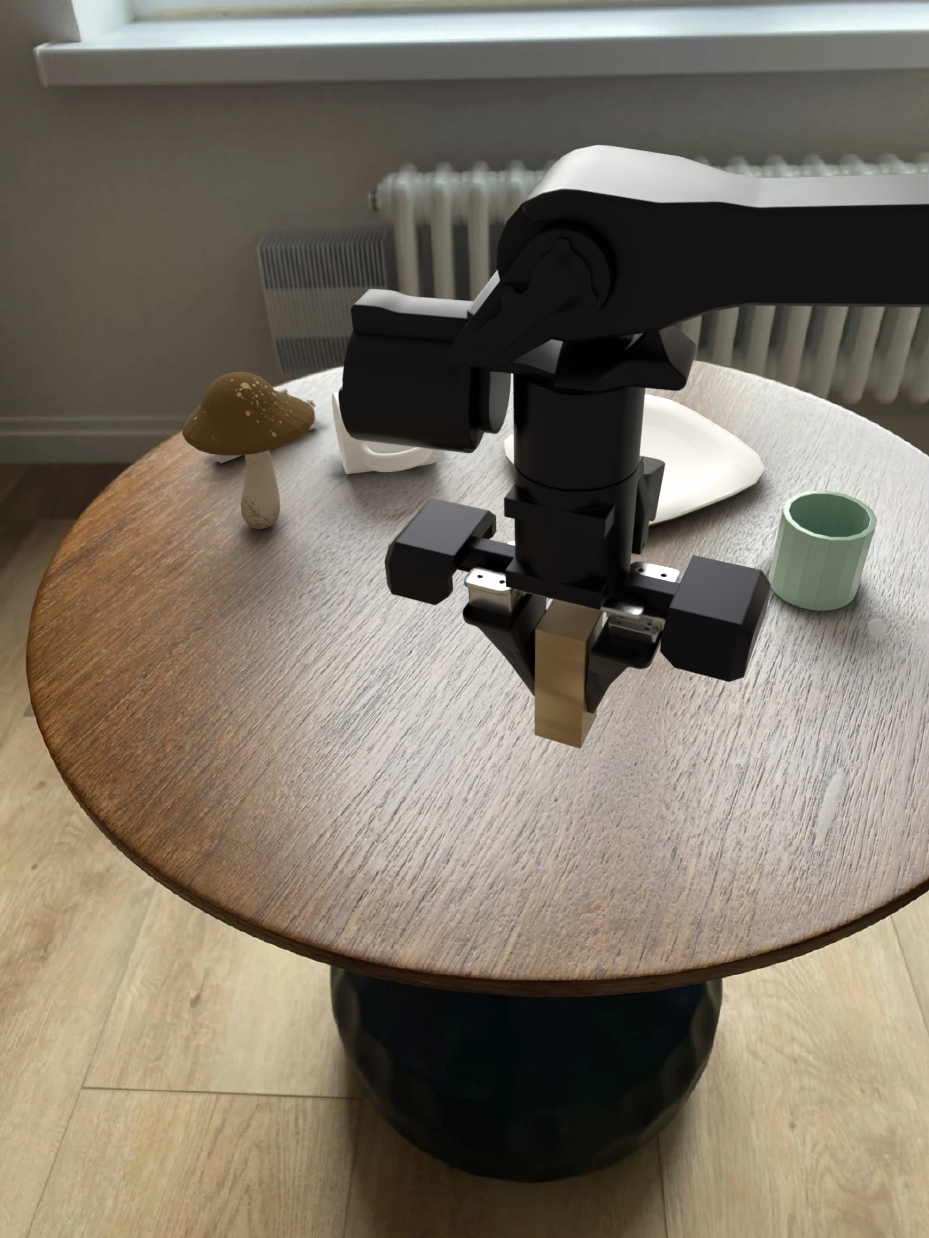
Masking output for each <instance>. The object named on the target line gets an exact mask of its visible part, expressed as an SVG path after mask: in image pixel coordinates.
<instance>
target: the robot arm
mask: <svg viewBox="0 0 929 1238" xmlns="http://www.w3.org/2000/svg"><path fill="white" fill-rule="evenodd" d="M496 254H497V255H496V256H497V257H496V271H495V272H494V273H493V275H491V277H490V279H489V280H488V282H487V283H486V284H485V285H484V287H483V288H482V289H481V291H480V292H479V293H478V294H477V296H476V298H475V299H474V300H472V301H471V300H462V299H448V298H437V297H423V296H413V295H407V294H404V293H403V292H402V293H401V292H399V291H396V290H390V289H380V288H379V289H378V288H369V289H368V290H367V291H365V293H364V294H362V296H361V297H359V299H358V300H357V301H356V302H355V303H354V304H353V305H352V306H351V307H350V317H351V325H352V332H351V334H350V336H349V337H350V338H349V340H348V343H347V346H346V351H345V355H344V360H343V369H342V377H341V378H342V379H341V384H342V385H341V387H340V388H339V389H338V392H339V393H338V399H339V408H340V413H341V417H342V421H343V424H344V426H345V429H346V431H347V432H348V433H349V435H350V436H351V437H352V438H354V439H356V440H363V441H371V442H379V443H387V444H395V445H404V446H412V447H420V448H428V449H436V450H443V451H447V452H454V453H462V454H472V453H474V452H475V451H476V450H477V449H478V448H479V446H480V444H481V442H482V439H483V437H484V435H485V434H491V435H497V434H499V432H500V431H501V430H502V427H503V425H504V423H505V420H506V417H507V412H508V409H509V403H510V396H511V387H512V402H513V403H512V405H513V407H512V408H513V411H512V412H513V413H512V414H513V415H512V416H513V417H512V419H513V421H512V422H513V433H514V466H513V486H512V487H511V488H510V489H509V490H508V492H507V493H506V495H505V496H504V498H503V516H504V518H508V519H513V520H514V540H510V541H508V542H507V543H506V542H503V541H497V540H493V539H492V538H494V536H495V535H496V533H497V531H498V530H497V515H496V514H495V513H493V512H492V511H491V510H488V509H486V508H485V509H484V508H481V507H476V506H471V505H467V504H461V503H457V502H453V501H448V500H443V499H439V498H434V497H432V498H431V499H430V500H428V501H427V502H426V503H425V504H424V505H422V506H421V508H420V509H419V510H418V511H417V512H416V513H415V514H414V516H413V517H412V518H411V519H410V520H409V522H407V524H406V525H405V526H404V528H403V529H402V530H401V531H400V532H399V533H398V534H397V535H396V537H394V539H393V540H392V541H391V543H389V545H388V546H387V551H386V554H385V557H384V569H385V579H386V586H387V588H388V590H389V592H390V594H391V595H394V596H397V597H402V598H404V599H409V600H412V601H417V602H421V603H424V604H428V605H433V606H437V605H439V604H440V603H442V602H443V601H445V600H447V599H448V598H449V597H450V596H451V595H452V593H453V592H454V580H453V579H454V578H453V576H454V574H456V572H457V571H461V572H465V573H467V574H466V575H465V577H464V579H463V585H464V587H466V588H467V590H468V591H467V592H468V593H467V594H468V602H467V603H466V604H465V606H464V607H463V609H462V612H461V613H462V620H463V621H464V622H465V623H466V624H467V625H470V626H473V627H475V628H478V629H479V630H480V631H481V632H482V633H483V635H484V636H485V637H486V638H487V639H488V640H489V641H490V643H491V644H492V645H493V646H494V647H495V648H496V649H497V650H498V651H499V653H500V654H501V655H503V658H505V660H506V661H507V662H508V664H510V666H511V667H512V669H513V670H514V671H515V673H516V674H517V676H518V677H519V678H520V680H521V681H522V683H523V684H524V685H525V686H526V688H527V689H528V690H529V692H530V693H531V695H532V696H533V697H534V698H535V629H536V627H537V625H538V624H539V622H540V620H541V619H542V617H543V615H544V614H545V612H546V610H547V601H548V599H550V600H552V601H553V600H557V601H561V602H565V603H569V604H573V605H577V606H581V607H585V608H589V609H593V610H598V611H602V612H603V613H605V615H606V618H607V619H606V620H605V622H604V624H603V625H602V630H601V632H600V633H599V635H598V637H597V639H596V641H595V643H594V645H593V647H592V649H591V651H590V659H589V668H588V678H587V687H586V696H585V701H586V707H587V712H588V713H592V714H594V713H595V711H596V709H597V710H598V708H599V706H600V704H601V702H602V700H603V699H604V697H605V694H606V693H607V691H608V689H609V688H610V686H611V685H612V684H613V683H614V682H615V681H616V680H617V679H618V678H619V677H620V676H621V675H622V674H623V673H624V672H625V671H626V670H627V669H628V668H633V669H637V670H645V669H648V668H649V667H651V665H652V664H653V661H654V660H655V657H656V655H657V653H658V651H659V652H660V654H661V655H662V656H663V657H664V658H665V659H666V660H667V662H668V663H670V665H671V666H672V667H673V668H674V669H677V670H682V671H685V672H687V673H688V672H689V673H692V674H696V675H700V676H704V677H708V678H712V679H715V680H720V681H724V682H727V683H730V682H731V683H732V682H733V681H738V680H740V679H743V678H745V676H746V673H747V669H748V668H749V664H750V661H751V658H752V656H753V653H754V649H755V646H756V644H757V640H758V637H759V634H760V632H761V629H762V626H763V623H764V620H765V617H766V614H767V611H768V605H769V601H770V596H771V591H772V588H771V584H770V582H769V578H767V576H766V574H765V573H764V571H763V570H762V569H760V568H755V567H750V566H745V565H741V564H736V563H731V562H728V561H727V562H726V561H722V560H717V559H713V558H709V557H705V556H700V555H695V554H693V555H692V556H691V559H690V561H689V563H688V565H687V567H686V570H684V574H683V576H682V578H681V580H680V582H678V581H679V579H680V570H678V569H677V568H672V567H667V566H663V565H658V564H655V563H649V562H646V561H635V562H632V555H633V554H634V555H638V556H641V555H642V553H643V551H644V549H645V547H646V545H647V544H648V538H649V537H648V536H649V528H650V526H649V521H654V520H655V518H656V513H657V507H658V502H659V496H660V491H661V485H662V480H663V474H664V469H665V462H663V461H661V460H659V459H655V458H650V457H645V456H640V446H641V435H642V423H643V411H644V399H645V394H646V389H649V390H650V389H651V390H660V391H661V390H662V391H670V392H671V391H672V392H679V391H681V390H683V389H684V388H686V385H687V383H688V380H689V378H690V377H689V376H690V373H691V370H692V367H693V363H694V359H695V356H696V353H697V345H696V343H695V341H693V340H692V339H691V338H690V337H688V336H687V335H686V334H685V333H684V332H683V331H682V330H680V329H679V328H678V327H676V326H675V325H678V324H682V323H684V322H687V321H690V320H692V319H696V318H698V317H701V316H704V315H707V314H709V313H712V312H717V311H723V310H729V309H730V310H731V309H735V308H743V307H751V306H752V307H754V306H755V307H841V308H843V307H845V308H846V307H848V308H849V307H850V308H851V307H852V308H853V307H855V308H856V307H857V308H929V173H928V172H927V173H899V174H897V173H894V174H893V173H892V174H867V175H866V174H864V175H863V174H862V175H861V174H860V175H857V174H856V175H828V176H826V175H825V176H791V177H789V176H787V177H786V176H785V177H760V176H759V177H758V176H753V175H752V176H751V175H746V174H739V173H733V172H728V171H725V170H722V169H720V168H716V167H713V166H709V165H707V164H705V163H701V162H699V161H696V160H692V159H689V158H687V157H683V156H679V155H673V154H666V153H659V152H653V151H647V150H640V149H634V148H627V147H621V146H614V145H602V144H595V145H591V146H585V147H581V148H576V149H574V150H572V151H570V152H567V153H566V154H564V155H562V156H561V157H560V158H559V159H558V160H556V161H555V162H554V163H553V164H552V165H551V167H549V169H548V170H547V172H546V173H545V174H544V175H543V176H542V177H541V179H540V180H539V181H538V182H537V184H536V185H535V186H534V187H533V188H532V190H530V192H529V194H528V195H527V196H526V197H525V199H523V201H521V203H520V204H519V206H518V207H517V208H516V210H515V211H514V212H513V213H512V214H511V216H510V217H509V218H508V219H507V220H506V222H505V224H504V228H503V230H502V232H501V236H500V238H499V240H498V242H497V253H496Z"/></svg>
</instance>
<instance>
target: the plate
mask: <svg viewBox="0 0 929 1238" xmlns="http://www.w3.org/2000/svg"><path fill="white" fill-rule="evenodd" d="M503 444H504V445H503V447H504V455H505V458H506V460H507V461H509V463H510V464H511V465H512V466H513V467H514V432H512V433H511V434H510V435H509V436H508V437H507V438H505V440H503ZM640 456H645V457H650V458H655V459H659V460H661V461H663V462H665V469H664V474H663V480H662V485H661V491H660V496H659V502H658V507H657V513H656V518H655V520H654V521H649V527H652V526H655V525H659V524H663V523H666V522H670V521H674V520H676V519H679V518H682V517H684V516H687V515H690V514H693V513H696V512H698V511H700V510H703V509H706V508H709V507H711V506H713V505H716V504H718V503H721V502H723V501H726V500H728V499H730V498H732V497H733V498H734V497H735V496H737V495H739V494H740V493H742V492H744V491H746V490H748V489H750V488H752V487H754V486H756V484H757V483H758V481H759V480H760V479H761V477H762V476H763V475H764V474H765V472H766V467H765V465H764V463H763V461H762V459H761V457H760V455H759V454H758V452H756V451H755V450H754V449H752V448H751V447H750V446H748V444H746V443H744V441H742V440H741V439H739V437H737V436H736V435H734V434H733V433H730V432H729V431H728V430H726V429H724V428H723V427H721V426H719V425H718V424H716V423H715V422H713V421H712V420H710V419H708V418H707V417H706V416H703V415H702V414H700V413H698V412H697V411H695V410H693V409H691V408H688V407H687V406H685V405H683V404H681V403H678V402H676V401H674V400H672V399H670V398H669V399H668V398H665V397H661V396H657V395H652V394H647V393H645V399H644V411H643V423H642V435H641V446H640Z"/></svg>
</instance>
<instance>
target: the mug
mask: <svg viewBox="0 0 929 1238" xmlns="http://www.w3.org/2000/svg"><path fill="white" fill-rule="evenodd" d="M338 393H339V391H337V392H332V394H331V404H332V415H333V421H334V427H335V428H334V429H335V434H336V439H337V444H338V448H339V454H340V458H341V462H342V466H343V470H344V472H345V474H346V475H351V474H360V473H368V472H379V473H392V472H395V473H396V472H400V471H405V470H410V469H412V468H416V467H420V466H429V465H432V464H434V463H436V462H437V461H441V460H442V458H443V454H444V453H443V451H444V450H436V449H428V448H420V447H412V446H404V445H395V444H387V443H379V442H371V441H363V440H356V439H354V438H352V437H351V436H350V435H349V433H348V432H347V431H346V429H345V426H344V424H343V421H342V417H341V413H340V408H339V399H338Z"/></svg>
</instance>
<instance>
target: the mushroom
mask: <svg viewBox="0 0 929 1238" xmlns="http://www.w3.org/2000/svg"><path fill="white" fill-rule="evenodd" d="M306 402H307V401H306ZM306 402H304V400H302V399H301V398H298V397H296V396H293V395H291V394H289V395H287V394H284V393H281V392H279V390H276V389H274V387H273V386H272V385H271V384H270V383H269V382H268V381H267V380H265V379H264V378H262V377H260V376H259V375H256V374H254V373H251V372H247V371H246V372H245V371H233V372H229V373H226V374H222V375H221V376H219V377H217V378H215V380H214V381H212V383H210V385H209V386H208V387H207V389H206V390H205V392H204V394H203V396H202V398H201V402H200V403H199V405H198V406H197V407H196V408H195V409H194V411H193V412H192V413H191V414H190V415H189V416H188V418H186V420H185V421H184V424H183V428H182V432H181V434H182V436H183V438H184V440H185V442H186V443H187V444H189V445H190V446H191V447H193V448H195V450H197V451H199V452H202V453H206V454H210V455H215V454H216V455H242V456H244V459H245V471H244V479H243V487H242V492H241V500H240V511H241V517H242V518H243V520H244V522H245V523H246V524H247V526H248V527H250V528H252V529H256V530H262V529H268V528H269V527H271V526H273V525H274V524H275V523H276V522H278V519H279V515H280V513H281V498H280V496H281V495H280V490H279V486H278V481H277V476H276V473H275V469H274V464H273V460H272V455H271V452H270V451H272V450H273V451H274V450H276V449H279V448H282V447H284V446H287V445H290V444H292V443H293V442H295V441H297V440H299V439H300V438H302V437H303V436H304V435H305V434H307V433H308V432H309V431H310V430H309V429H310V427H311V425H312V424H313V422H314V419H316V412H315V410H314V411H313V410H312V408H311V407H310V406H309V405H308V404H307V403H306Z"/></svg>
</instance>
